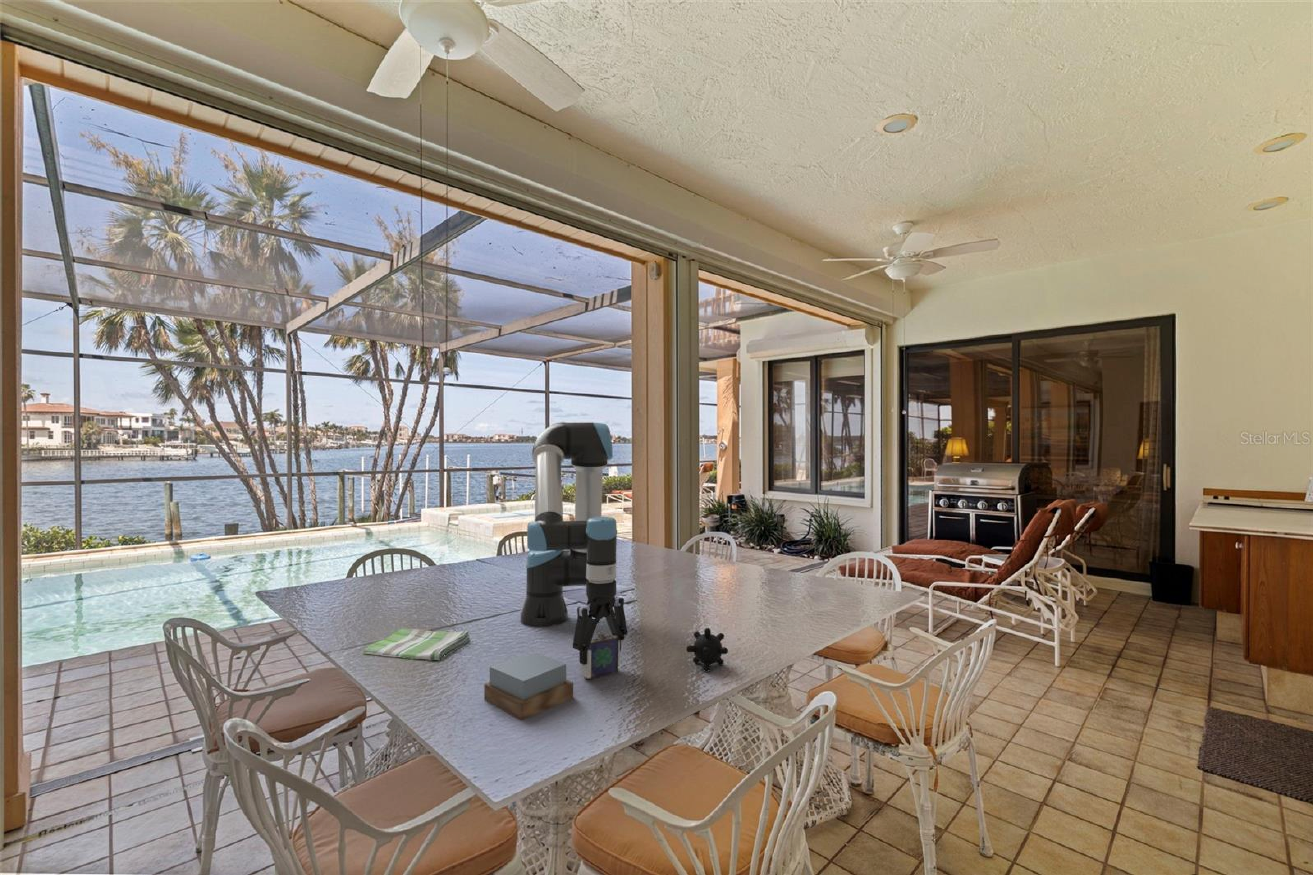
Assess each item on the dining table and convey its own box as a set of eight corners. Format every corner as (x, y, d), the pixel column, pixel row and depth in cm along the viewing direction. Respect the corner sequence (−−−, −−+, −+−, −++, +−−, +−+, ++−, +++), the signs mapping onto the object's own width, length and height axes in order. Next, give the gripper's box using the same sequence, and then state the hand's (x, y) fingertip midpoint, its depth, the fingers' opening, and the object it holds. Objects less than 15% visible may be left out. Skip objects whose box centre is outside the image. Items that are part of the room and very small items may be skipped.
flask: (586, 680, 137) (586, 636, 137) (581, 676, 139) (581, 632, 139) (620, 672, 141) (620, 630, 142) (614, 668, 144) (615, 626, 144)
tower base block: (535, 682, 137) (536, 665, 137) (573, 700, 128) (573, 682, 128) (484, 701, 126) (484, 683, 127) (520, 722, 117) (520, 703, 117)
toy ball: (737, 648, 150) (736, 653, 139) (709, 677, 150) (705, 683, 138) (710, 617, 154) (706, 619, 142) (681, 645, 153) (676, 649, 142)
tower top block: (532, 668, 136) (532, 651, 136) (566, 681, 128) (566, 663, 128) (489, 684, 126) (489, 666, 126) (523, 700, 119) (523, 681, 119)
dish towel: (437, 664, 148) (437, 650, 148) (361, 657, 153) (361, 644, 153) (471, 641, 165) (472, 629, 165) (401, 635, 169) (402, 624, 170)
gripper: (577, 590, 130) (576, 689, 130) (642, 574, 146) (641, 662, 146) (557, 585, 135) (556, 679, 135) (621, 570, 151) (621, 654, 151)
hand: (600, 670), depth 140 cm, fingers closed on flask, 9 cm apart
